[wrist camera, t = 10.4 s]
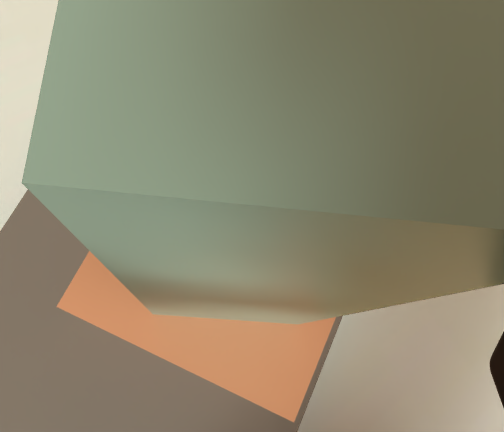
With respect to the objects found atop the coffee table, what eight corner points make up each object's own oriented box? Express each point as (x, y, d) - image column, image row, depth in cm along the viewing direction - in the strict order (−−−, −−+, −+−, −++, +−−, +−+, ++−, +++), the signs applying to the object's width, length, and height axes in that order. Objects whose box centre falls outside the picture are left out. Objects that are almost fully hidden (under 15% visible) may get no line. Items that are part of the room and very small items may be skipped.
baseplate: (172, 723, 15) (168, 847, 12) (-192, 547, 15) (-318, 614, 12) (383, 197, 21) (426, 164, 17) (119, 67, 21) (105, 6, 17)
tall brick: (298, 324, 15) (687, 247, 3) (152, 314, 15) (21, 181, 3) (302, 188, 17) (600, -213, 5) (168, 174, 16) (122, -313, 4)
